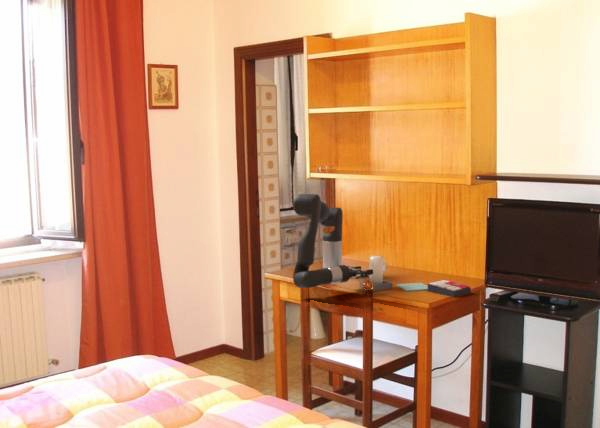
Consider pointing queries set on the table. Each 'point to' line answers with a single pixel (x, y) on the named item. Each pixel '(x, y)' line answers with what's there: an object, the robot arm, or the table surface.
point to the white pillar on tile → (377, 269)
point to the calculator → (449, 288)
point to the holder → (380, 285)
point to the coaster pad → (413, 287)
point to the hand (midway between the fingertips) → (366, 270)
